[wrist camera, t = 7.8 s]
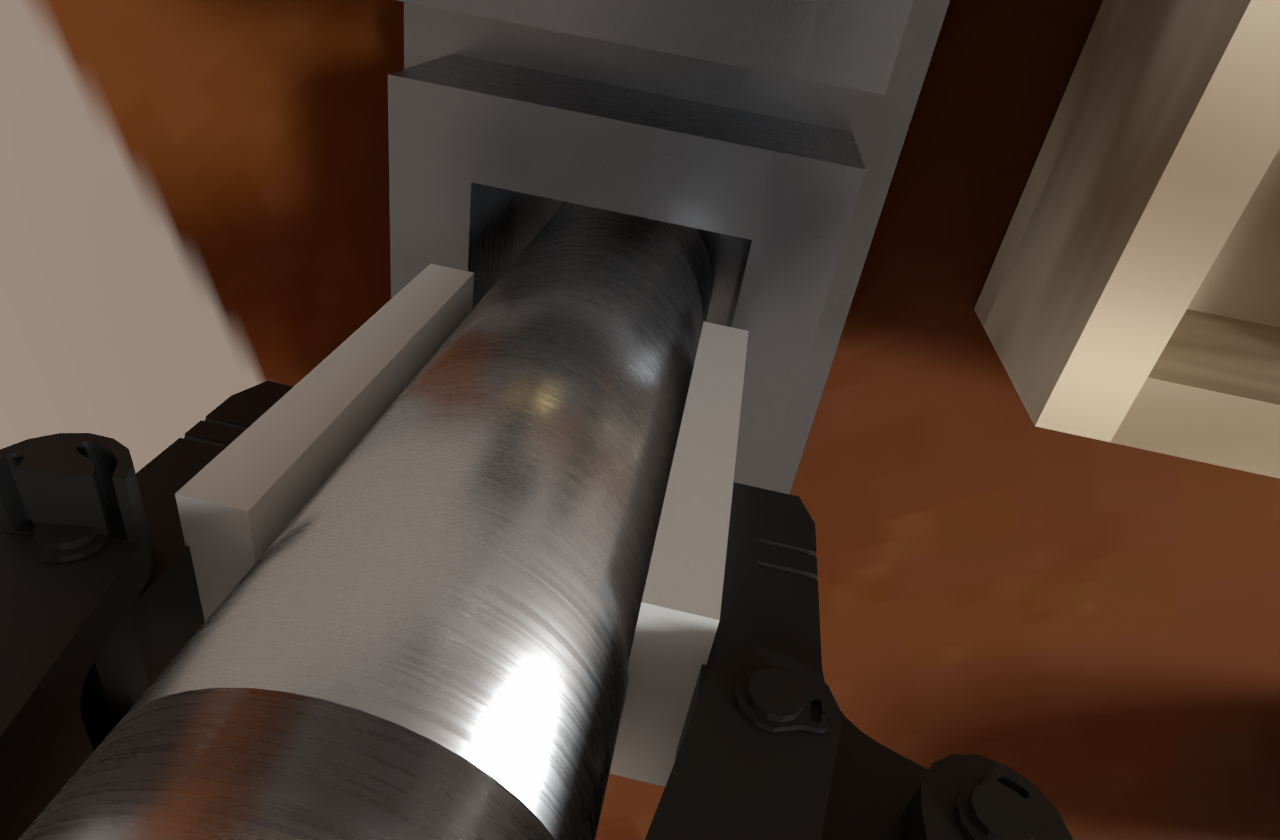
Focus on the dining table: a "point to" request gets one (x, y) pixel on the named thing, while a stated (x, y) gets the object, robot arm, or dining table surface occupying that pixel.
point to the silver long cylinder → (441, 585)
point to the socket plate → (669, 156)
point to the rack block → (1154, 240)
